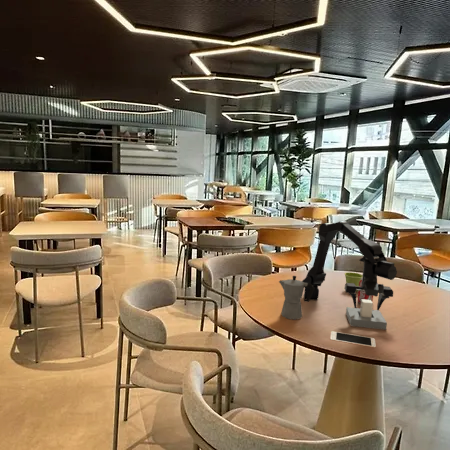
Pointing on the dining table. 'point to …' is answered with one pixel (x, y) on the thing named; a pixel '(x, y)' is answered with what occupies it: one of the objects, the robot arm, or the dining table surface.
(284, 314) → the coffeepot
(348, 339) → the cell phone
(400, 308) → the dining table surface
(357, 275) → the plant pot
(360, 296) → the soda can
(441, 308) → the dining table surface
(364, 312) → the peg
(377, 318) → the socket
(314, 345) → the dining table surface
